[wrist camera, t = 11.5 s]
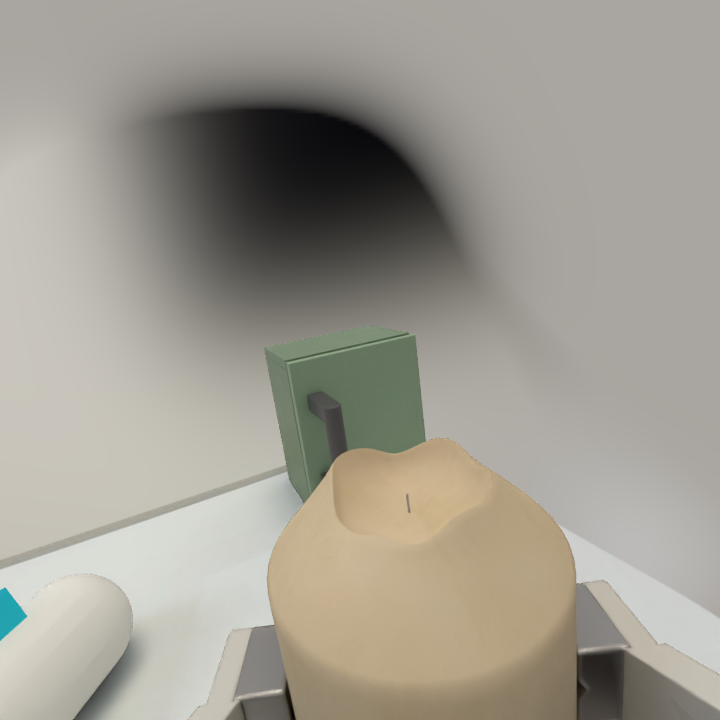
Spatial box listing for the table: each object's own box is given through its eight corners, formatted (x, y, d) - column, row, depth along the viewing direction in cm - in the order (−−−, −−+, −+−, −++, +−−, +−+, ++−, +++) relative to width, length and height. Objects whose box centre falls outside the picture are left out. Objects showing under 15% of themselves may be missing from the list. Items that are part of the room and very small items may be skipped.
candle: (286, 873, 10) (189, 503, 7) (414, 680, 14) (379, 400, 11) (521, 1211, 6) (482, 689, 4) (603, 812, 10) (611, 438, 7)
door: (458, 496, 42) (446, 341, 38) (335, 550, 37) (306, 375, 33) (424, 472, 48) (410, 334, 44) (313, 515, 42) (285, 362, 38)
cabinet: (423, 472, 48) (408, 332, 44) (312, 515, 42) (284, 360, 38) (386, 445, 56) (371, 325, 52) (289, 479, 50) (263, 347, 46)
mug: (97, 518, 29) (-128, 697, 17) (171, 616, 30) (7, 844, 18) (-1, 570, 32) (-245, 748, 20) (69, 656, 33) (-124, 871, 22)
